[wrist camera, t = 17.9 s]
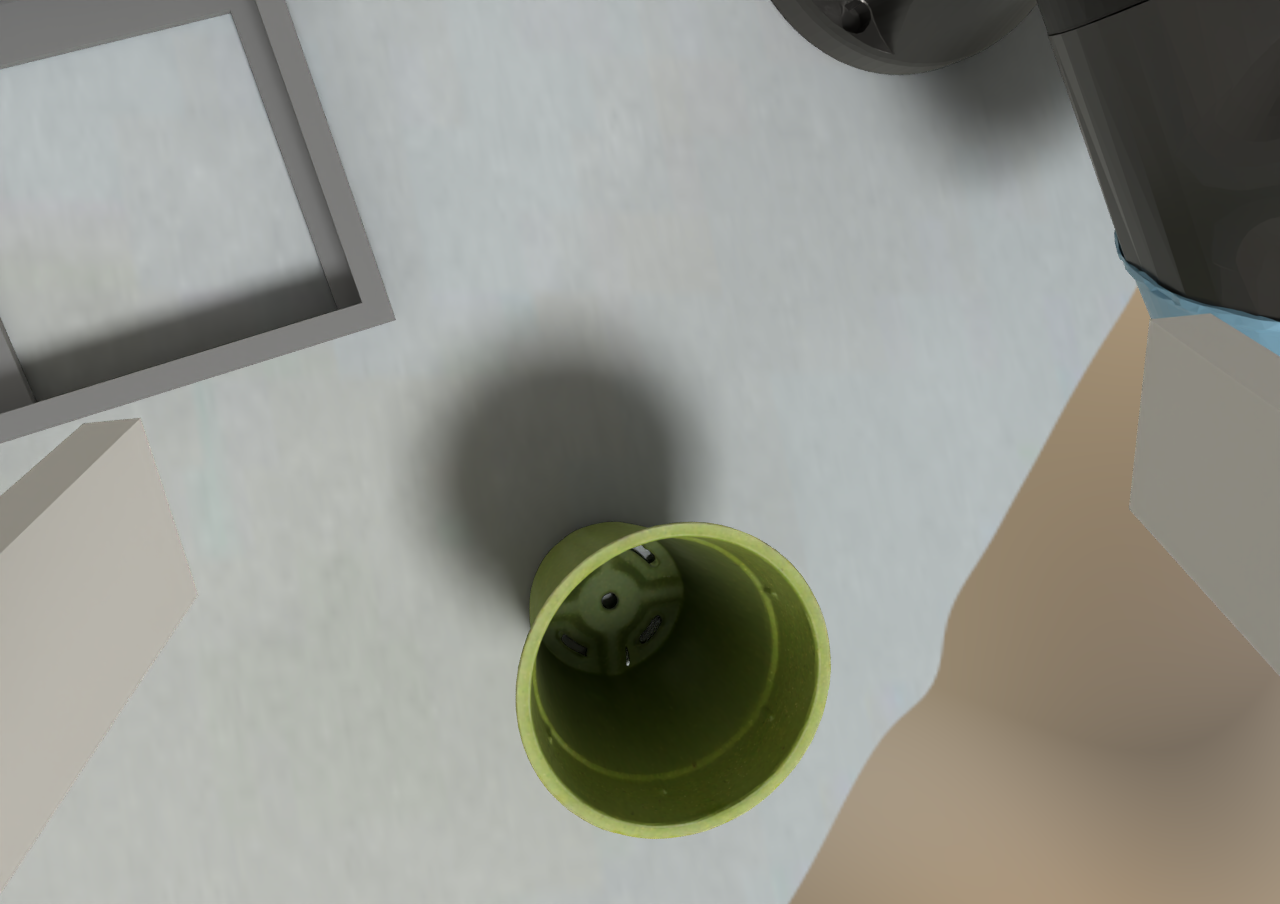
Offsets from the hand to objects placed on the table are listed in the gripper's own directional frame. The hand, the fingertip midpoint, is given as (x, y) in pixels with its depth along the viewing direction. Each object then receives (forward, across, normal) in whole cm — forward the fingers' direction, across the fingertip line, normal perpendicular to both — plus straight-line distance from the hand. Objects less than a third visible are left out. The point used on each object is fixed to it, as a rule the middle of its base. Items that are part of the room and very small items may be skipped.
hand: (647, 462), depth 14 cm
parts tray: (+28, -25, -1) cm, 37 cm away
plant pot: (+29, -3, -21) cm, 36 cm away
